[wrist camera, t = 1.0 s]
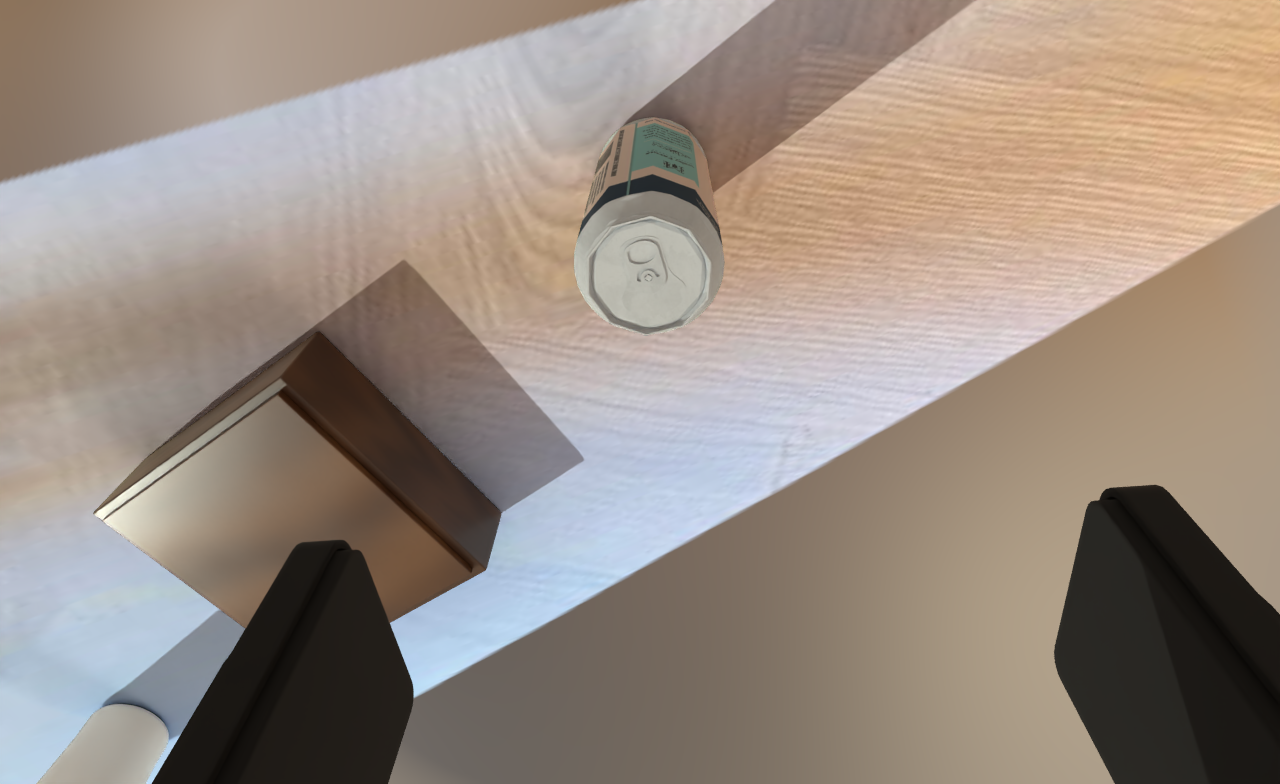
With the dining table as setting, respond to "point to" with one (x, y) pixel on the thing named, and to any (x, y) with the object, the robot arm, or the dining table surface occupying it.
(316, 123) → the dining table surface
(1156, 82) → the dining table surface
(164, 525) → the walnut block
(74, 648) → the dining table surface
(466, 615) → the dining table surface
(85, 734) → the drinking glass
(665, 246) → the beer can
